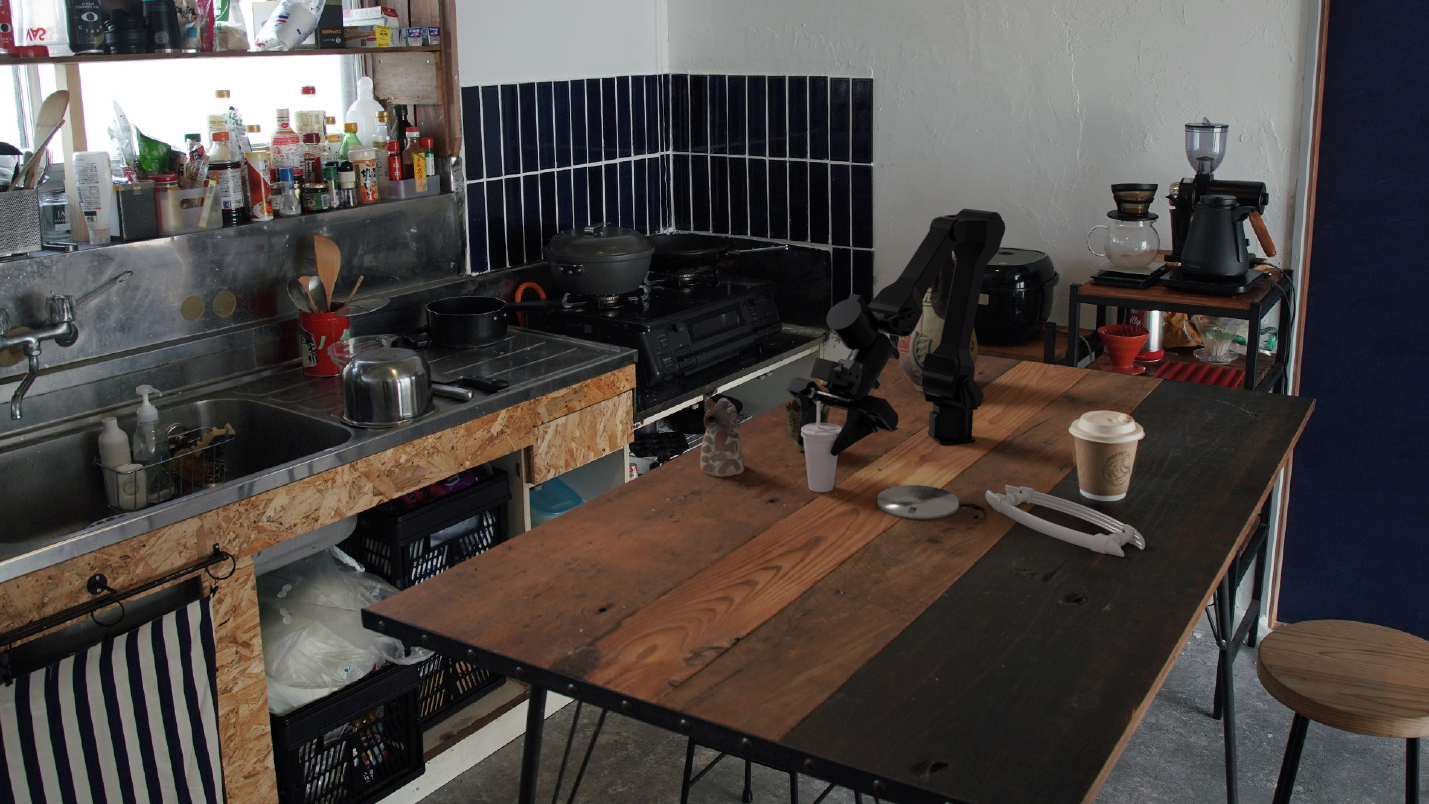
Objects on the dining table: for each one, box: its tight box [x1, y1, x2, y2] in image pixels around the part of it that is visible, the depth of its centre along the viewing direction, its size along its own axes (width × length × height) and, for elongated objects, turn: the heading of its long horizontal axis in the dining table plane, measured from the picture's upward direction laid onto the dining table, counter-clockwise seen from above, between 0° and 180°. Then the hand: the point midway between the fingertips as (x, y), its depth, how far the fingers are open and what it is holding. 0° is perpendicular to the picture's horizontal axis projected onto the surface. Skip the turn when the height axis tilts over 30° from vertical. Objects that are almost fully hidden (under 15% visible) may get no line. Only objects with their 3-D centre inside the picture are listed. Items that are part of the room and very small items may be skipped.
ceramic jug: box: [897, 252, 979, 393], centre depth 239 cm, size 17×15×30 cm
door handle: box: [985, 484, 1146, 558], centre depth 177 cm, size 3×10×25 cm
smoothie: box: [801, 401, 843, 493], centre depth 190 cm, size 6×6×14 cm
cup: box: [784, 399, 831, 453], centre depth 208 cm, size 8×7×8 cm
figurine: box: [699, 397, 746, 478], centre depth 199 cm, size 7×7×12 cm
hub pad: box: [876, 484, 960, 521], centre depth 185 cm, size 12×12×1 cm
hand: (815, 449), depth 189 cm, fingers open, 6 cm apart
